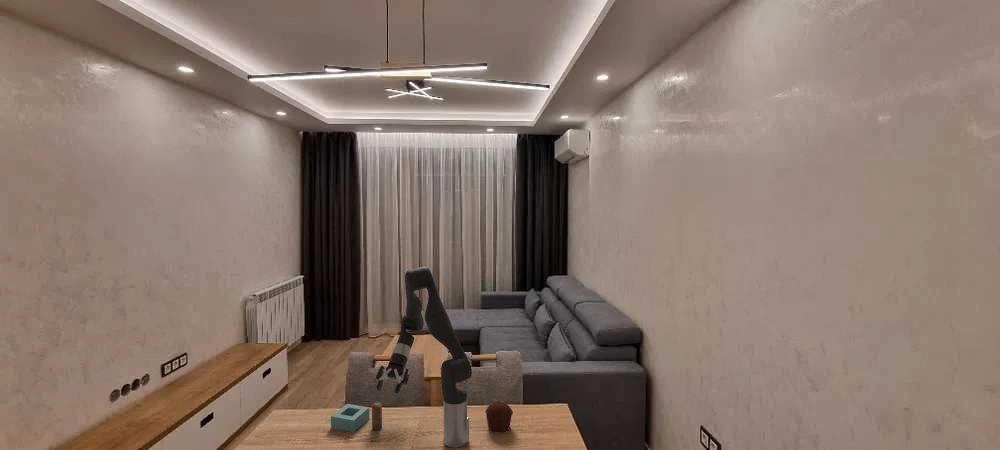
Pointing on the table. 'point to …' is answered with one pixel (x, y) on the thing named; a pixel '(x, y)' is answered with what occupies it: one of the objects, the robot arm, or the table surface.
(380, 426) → the peg
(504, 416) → the muffin
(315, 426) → the table surface
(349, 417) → the socket block
